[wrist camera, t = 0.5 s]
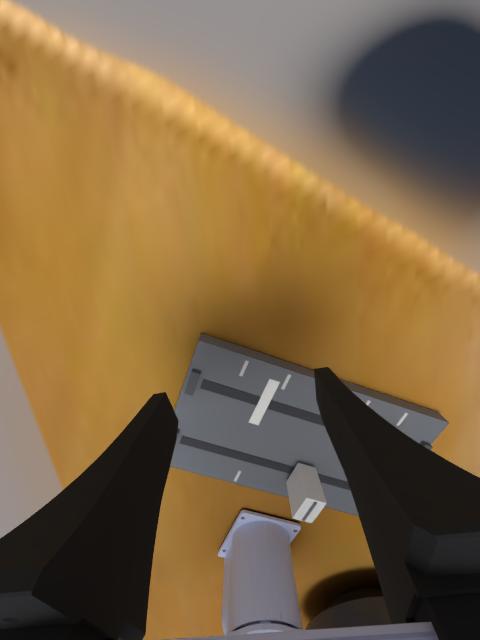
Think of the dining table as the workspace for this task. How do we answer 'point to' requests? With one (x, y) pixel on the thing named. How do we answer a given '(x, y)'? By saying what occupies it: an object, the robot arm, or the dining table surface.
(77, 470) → the dining table surface
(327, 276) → the dining table surface
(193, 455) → the console
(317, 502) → the grey fader knob
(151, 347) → the dining table surface
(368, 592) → the planter
